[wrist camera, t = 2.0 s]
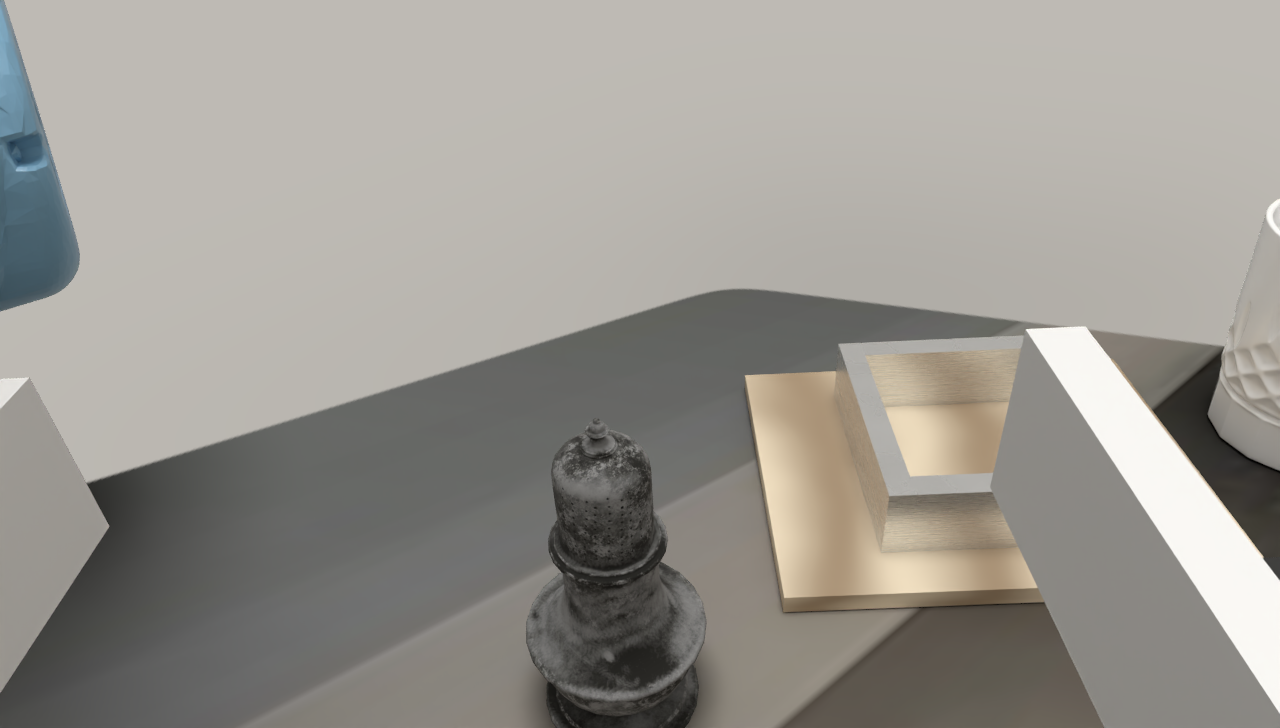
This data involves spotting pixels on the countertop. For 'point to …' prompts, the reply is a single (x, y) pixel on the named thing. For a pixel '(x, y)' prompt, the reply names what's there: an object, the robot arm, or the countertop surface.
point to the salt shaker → (613, 596)
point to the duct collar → (896, 500)
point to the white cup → (1254, 356)
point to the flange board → (836, 508)
